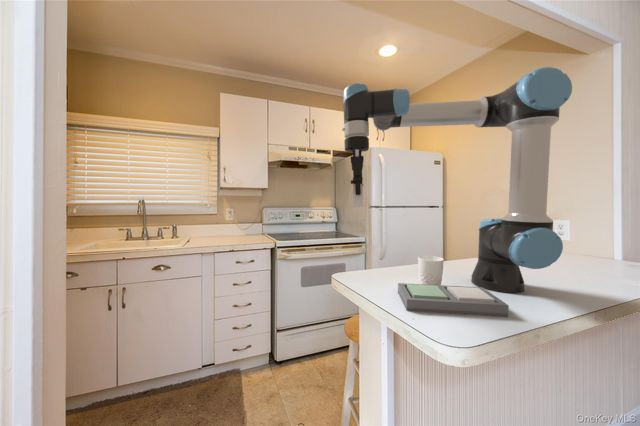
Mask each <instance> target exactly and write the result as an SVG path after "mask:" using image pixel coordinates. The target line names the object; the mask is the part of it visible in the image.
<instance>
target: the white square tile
mask: <svg viewBox="0 0 640 426" xmlns="http://www.w3.org/2000/svg"><path fill="white" fill-rule="evenodd" d="M446 286H447V290H448V291H449V292H450V293H451V294H452V295H453V296H454V297H455V298H456V299H457V300H462V301H480V302H494V301H495V299H493V298H492V297H490V296H489V295H488V294H486V293H485V292H483V291H482V290H481V289H479V288H471V287H472V286H465V287H451V286H452V285H446Z"/></svg>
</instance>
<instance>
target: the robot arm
mask: <svg viewBox="0 0 640 426" xmlns="http://www.w3.org/2000/svg"><path fill="white" fill-rule="evenodd" d="M572 84H573V83H572V81H571V78H570V77H569V76H568V74H567V73H565V72H563V71H562V70H561V69H559V68H557V67H552V66H546V67H545V66H544V67H540V68H536V69H534V70H532V71H531V72H529V73H527V74H525V75H523V76H522V77H521V78H519V80H518V81H516V82H514V83H513V84H511V86H509V87H508V88H506V89H505V90H503V91H501V92H499V93H496V94H494V95H490V96H481V97H480V98H478V99H477V100H476V99H475V100H459V101H458V100H457V101H440V102H439V101H438V102H417V103H410V102H411V101H410V100H411V99H410V92H409V90H408V89H407V88H395V89H386V90H376V91H369V87H368V86H367V84H365V83H359V82H358V83H352V84H349V85H347V86H346V87H345V88H344V90H343V101H342V103H343V105H342V107H343V122H344V123H343V126H344V127H342V129H341V130H342V132H344V138H345V139H344V151H345V152H346V153H351V154H352V155H351V156H350V164H351V170H352V171H353V176H352V180H350V185H352V192H353V193H352V195H353V198H352V199H353V207H354V208H360V207H364V197H363V196H364V189H363V188H364V183H363V182H364V181H363V168H364V160H365V159H364V155H362V153H364V152H367V151H369V150H370V138H369V136H370V129H369V128H370V123H369V119H372V121H373V126H375V128H376V129H377V130H380V131H387V130H389V129H391V128H410V127H414V128H415V127H437V126H439V127H440V126H442V127H443V126H459V125H461V126H463V125H465V126H467V125H468V126H469V125H474V126H475V128H504V127H505V128H506V129H507V130H508V131H510V132H511V145H510V147H511V148H510V167H509V168H510V169H509V192H508V209H507V210H508V211H507V214H506V215H504V216H503V217H502V218H486V219H485V218H484V219H482V220H481V221H480V222H479V228H478V233H479V234H478V253H477V254H478V255H477V263H476V264H475V267H474V269H473V271H472V274H471V278H470V279H471V281H470V282H471V283H472V284H473V285H475V286H476V287H483V288H484V289H485V290H490V291H495V292H501V293H508V294H509V293H511V294H512V293H522V292H524V291H525V281H524V278H523V275H522V271H521V269H520V267H522V268H527V269H531V270H540V269H544V268H547V267H550V266H551V265H552V264H554V263H557V261H558V259H559V258H560V257H561V255H562V253H563V250H564V244H563V241H562V238H561V237H560V236H559V235H558V233H556V232H555V231H554V230H553V229H554V220H553V219H552V218H550V216H548V215H547V211H548V210H547V207H548V206H547V205H548V193H549V192H548V191H549V190H548V187H549V169H550V156H551V155H550V151H551V137H552V136H551V134H552V127H553V126H554V125H555V124H557V122H558V121H559V120H560V109H561V107H562V106H564V104H566V102H567V101H569V99H570V97H571V95H572V92H573V85H572Z"/></svg>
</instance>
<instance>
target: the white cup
mask: <svg viewBox="0 0 640 426" xmlns="http://www.w3.org/2000/svg"><path fill="white" fill-rule="evenodd" d="M444 261H445V259H444V258H442V257H440V256H435V255H418V256H417V264H418V265H417V266H418V267H417V273H418V284H425V285H442V281H443V272H444V271H443V270H444Z"/></svg>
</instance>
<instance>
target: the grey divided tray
mask: <svg viewBox="0 0 640 426" xmlns="http://www.w3.org/2000/svg"><path fill="white" fill-rule="evenodd" d="M407 284H408V283H404V282H402V283H400V282H399V283H397V293H398V295H399V297H400V300H401V302H402V304H403V306H404V308H405V310H406V311H408V312H409V311H410V312H425V313H442V314H456V315H472V316H473V315H475V316H487V317H488V316H489V317H490V316H491V317H503V318H504V317H505V318H507V317H509V304H507V303H506V302H505V301H503V300H502V299H500V298H499V297H497V296H496V295H494V294H493V293H491V292H490V291H488V289H486V288H483V287H479V286H470V287H471V288H479V289H481V290H482V291H483V292H485V293H486V294H488V295H489V296H490V297H492V298H493V299H495V301H494V302H480V301H462V300H457V299H456V298H455V297H454V296H453V295H452V294H451V293H450V292H449V291H448V290H447V286H448V285H443V284H441V285H431V286H438V287H439V288H440V289H441V290H442V291H443V293H444V294H445V295H446V296H447V297H448V300H445V299H427V298H413V297H412V295H411V294H410V292H409V290H408V289H407ZM411 284H412V285H425V284H419V283H411ZM450 286H451V287H466V286H463V285H462V286H461V285H460V286H459V285H450Z"/></svg>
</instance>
